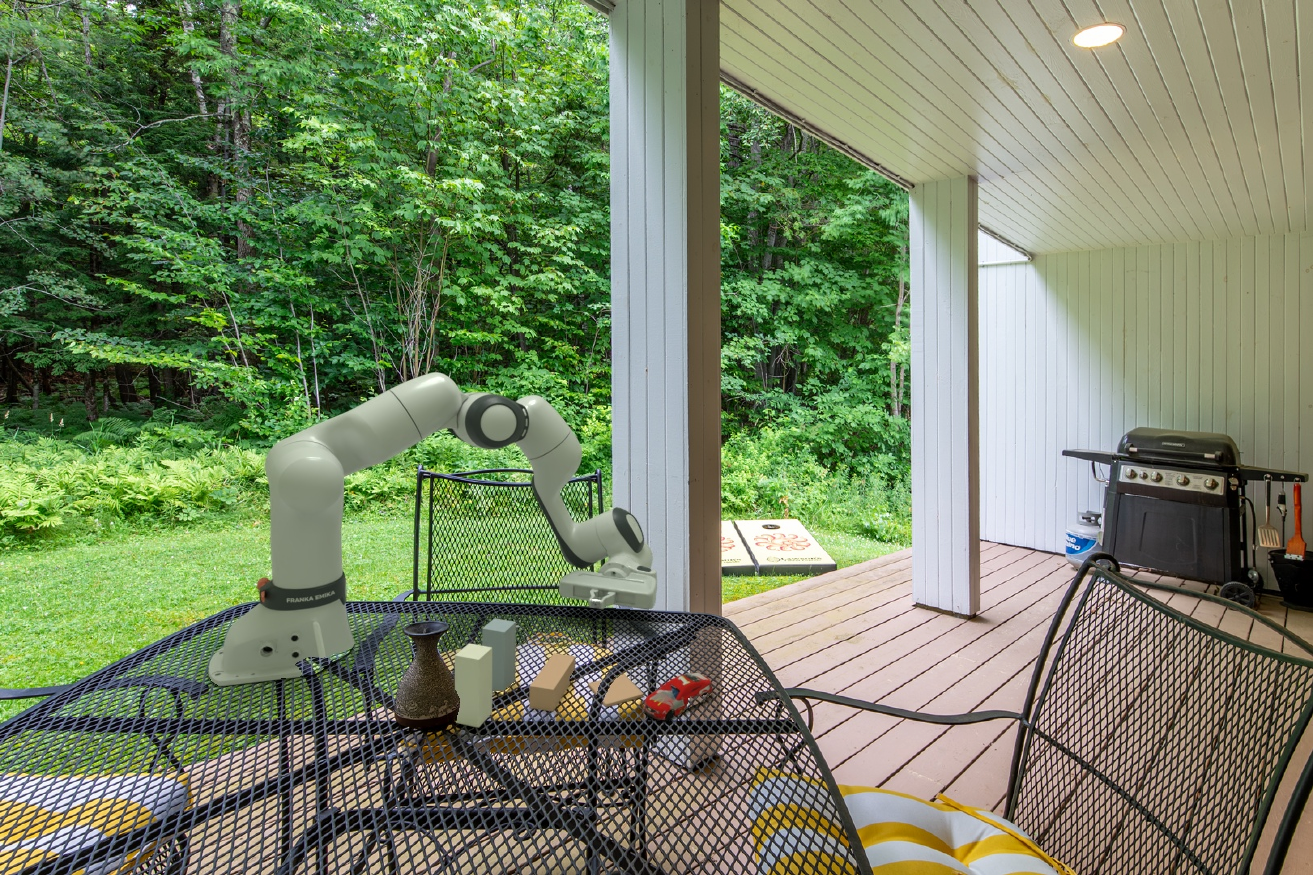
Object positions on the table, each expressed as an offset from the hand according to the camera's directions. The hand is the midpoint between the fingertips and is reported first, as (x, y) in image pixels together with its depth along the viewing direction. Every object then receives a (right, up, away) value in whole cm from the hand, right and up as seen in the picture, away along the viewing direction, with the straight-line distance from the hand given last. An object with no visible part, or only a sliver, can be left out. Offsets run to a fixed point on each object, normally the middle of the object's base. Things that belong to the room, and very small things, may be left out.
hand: (595, 604), depth 124 cm
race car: (+15, -12, -19) cm, 27 cm away
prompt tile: (+5, -10, -16) cm, 20 cm away
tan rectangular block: (-4, -7, -12) cm, 15 cm away
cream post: (-16, -11, -25) cm, 32 cm away
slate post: (-15, -9, -16) cm, 24 cm away
